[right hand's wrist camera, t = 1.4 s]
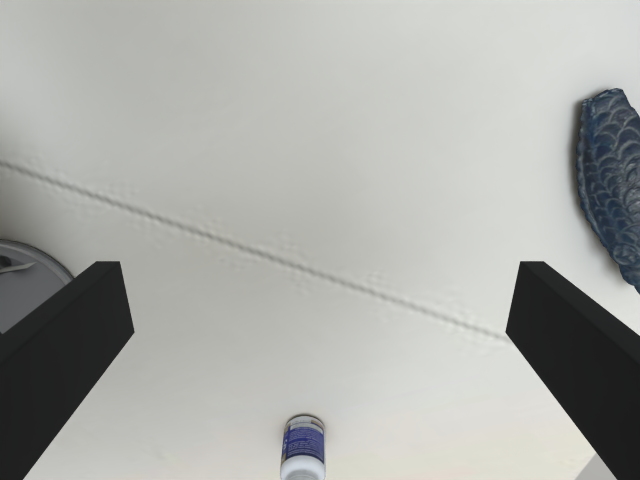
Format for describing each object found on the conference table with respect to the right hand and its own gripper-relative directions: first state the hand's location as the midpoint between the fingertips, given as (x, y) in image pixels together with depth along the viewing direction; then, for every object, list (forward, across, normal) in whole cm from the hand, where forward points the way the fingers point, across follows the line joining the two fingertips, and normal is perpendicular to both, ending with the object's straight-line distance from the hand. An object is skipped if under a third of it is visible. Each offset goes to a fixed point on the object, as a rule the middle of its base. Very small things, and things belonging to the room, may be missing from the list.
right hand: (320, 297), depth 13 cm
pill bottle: (+26, +2, +34) cm, 43 cm away
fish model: (+26, -29, +3) cm, 39 cm away
